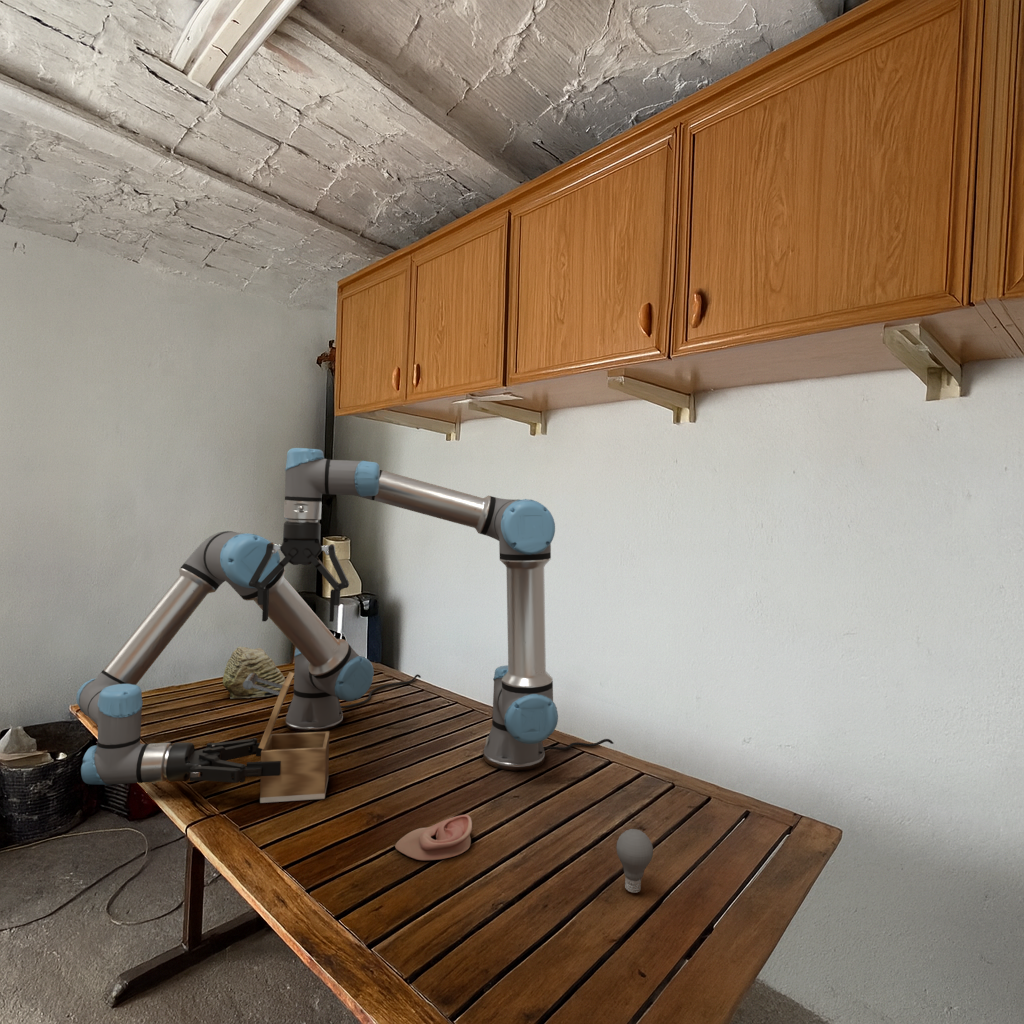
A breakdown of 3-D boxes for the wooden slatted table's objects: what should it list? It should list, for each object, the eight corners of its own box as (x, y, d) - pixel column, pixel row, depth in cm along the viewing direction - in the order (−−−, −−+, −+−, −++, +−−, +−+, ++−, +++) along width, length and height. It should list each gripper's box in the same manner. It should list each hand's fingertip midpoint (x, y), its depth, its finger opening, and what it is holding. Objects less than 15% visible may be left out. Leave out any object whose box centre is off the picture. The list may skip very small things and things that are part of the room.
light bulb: (610, 879, 108) (613, 822, 108) (644, 879, 109) (647, 822, 109) (619, 902, 102) (622, 840, 102) (655, 901, 103) (658, 840, 103)
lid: (294, 673, 140) (255, 661, 138) (288, 686, 131) (245, 673, 129) (271, 732, 139) (231, 720, 138) (263, 749, 130) (220, 737, 128)
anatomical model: (389, 833, 113) (412, 803, 124) (388, 855, 113) (411, 823, 124) (460, 844, 110) (477, 813, 121) (459, 867, 110) (476, 833, 121)
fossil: (218, 695, 195) (220, 647, 195) (278, 685, 208) (279, 640, 207) (228, 703, 189) (230, 653, 188) (289, 692, 201) (290, 645, 201)
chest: (328, 778, 142) (329, 731, 142) (324, 798, 133) (325, 748, 132) (268, 781, 140) (269, 734, 139) (259, 803, 130) (260, 751, 130)
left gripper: (185, 758, 142) (290, 754, 146) (150, 806, 120) (274, 799, 125) (187, 725, 142) (291, 722, 146) (151, 766, 120) (276, 762, 124)
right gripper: (236, 519, 129) (232, 623, 129) (362, 523, 134) (358, 623, 134) (243, 518, 136) (240, 616, 136) (362, 522, 141) (359, 617, 142)
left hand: (284, 757), depth 135 cm, fingers closed on chest, 10 cm apart
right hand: (298, 620), depth 135 cm, fingers open, 13 cm apart
